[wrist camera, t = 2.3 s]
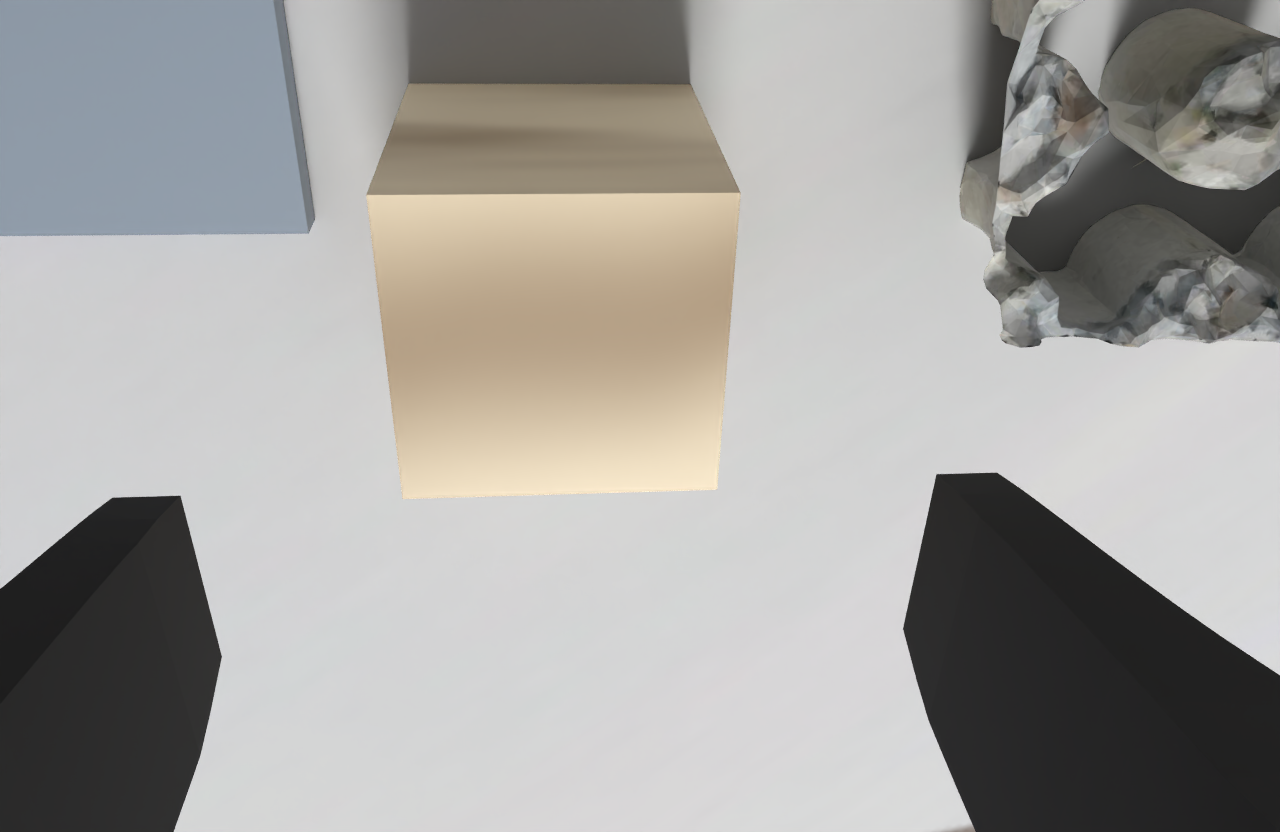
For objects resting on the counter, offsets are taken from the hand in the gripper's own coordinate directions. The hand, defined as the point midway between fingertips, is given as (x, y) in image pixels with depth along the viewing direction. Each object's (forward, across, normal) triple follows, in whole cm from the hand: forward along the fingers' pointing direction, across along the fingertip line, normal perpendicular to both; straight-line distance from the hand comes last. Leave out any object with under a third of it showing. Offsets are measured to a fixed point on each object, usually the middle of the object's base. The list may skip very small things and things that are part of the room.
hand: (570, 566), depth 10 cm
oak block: (+9, 0, 0) cm, 9 cm away
